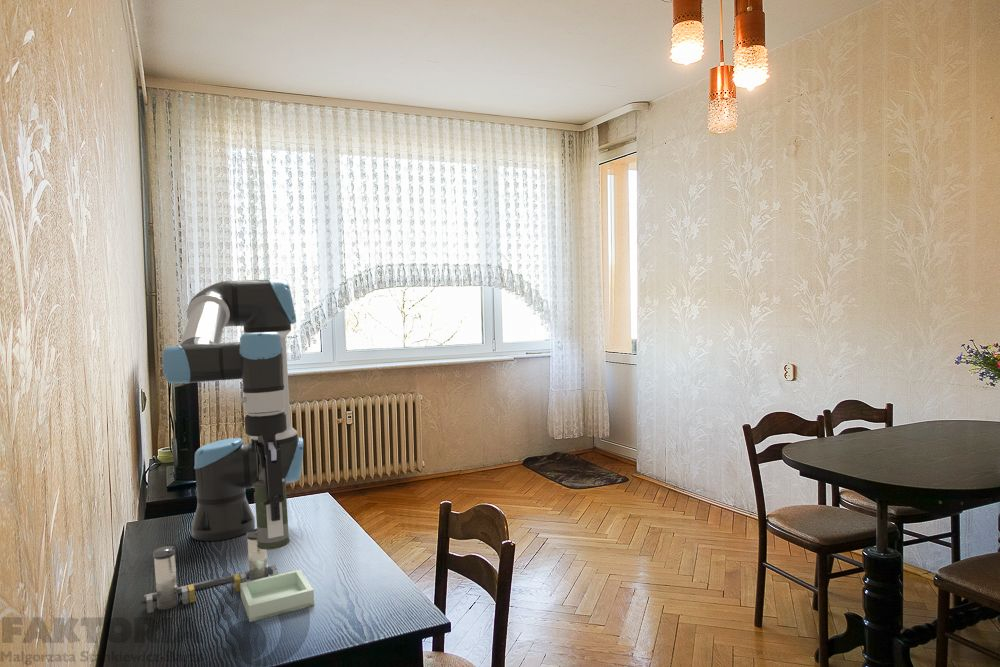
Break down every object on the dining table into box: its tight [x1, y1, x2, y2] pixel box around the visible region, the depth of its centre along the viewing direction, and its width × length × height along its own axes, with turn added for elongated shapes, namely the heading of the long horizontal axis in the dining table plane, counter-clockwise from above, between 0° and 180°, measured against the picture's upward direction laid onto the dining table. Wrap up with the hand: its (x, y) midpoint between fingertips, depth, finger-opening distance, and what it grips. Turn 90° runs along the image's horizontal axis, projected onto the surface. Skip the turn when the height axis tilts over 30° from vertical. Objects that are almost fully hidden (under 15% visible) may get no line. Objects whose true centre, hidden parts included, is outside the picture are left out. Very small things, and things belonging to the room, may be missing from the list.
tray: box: [240, 568, 315, 623], centre depth 126 cm, size 12×12×3 cm
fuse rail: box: [143, 528, 279, 614], centre depth 132 cm, size 7×25×11 cm, turn 119°
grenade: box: [253, 468, 291, 551], centre depth 125 cm, size 6×6×15 cm
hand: (272, 531), depth 125 cm, fingers closed on grenade, 6 cm apart
